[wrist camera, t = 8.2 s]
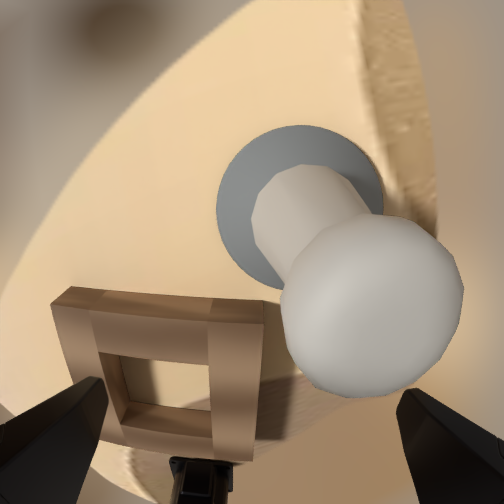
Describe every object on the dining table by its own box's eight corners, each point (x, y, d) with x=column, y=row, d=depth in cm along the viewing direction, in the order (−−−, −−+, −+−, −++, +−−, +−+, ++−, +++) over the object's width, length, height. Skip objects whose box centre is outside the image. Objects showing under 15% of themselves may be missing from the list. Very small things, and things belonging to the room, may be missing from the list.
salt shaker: (355, 168, 17) (527, 212, 5) (344, 262, 19) (453, 417, 6) (253, 159, 17) (255, 173, 4) (248, 257, 19) (241, 439, 6)
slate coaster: (367, 289, 20) (370, 293, 19) (216, 284, 20) (215, 288, 19) (386, 136, 17) (389, 136, 16) (220, 121, 17) (219, 120, 16)
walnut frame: (252, 435, 24) (252, 461, 22) (106, 417, 24) (96, 439, 21) (262, 300, 20) (264, 324, 17) (70, 286, 20) (50, 304, 17)
